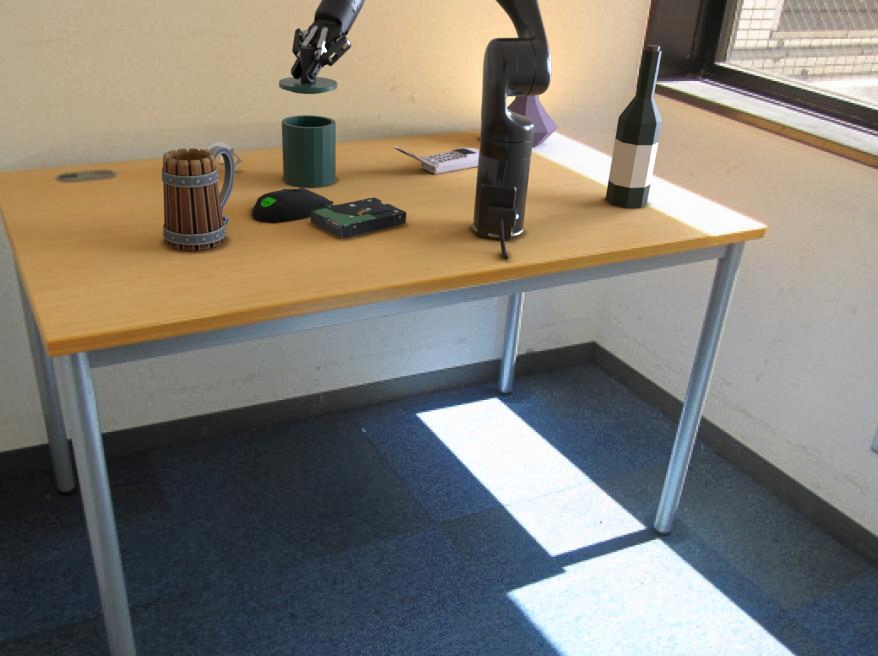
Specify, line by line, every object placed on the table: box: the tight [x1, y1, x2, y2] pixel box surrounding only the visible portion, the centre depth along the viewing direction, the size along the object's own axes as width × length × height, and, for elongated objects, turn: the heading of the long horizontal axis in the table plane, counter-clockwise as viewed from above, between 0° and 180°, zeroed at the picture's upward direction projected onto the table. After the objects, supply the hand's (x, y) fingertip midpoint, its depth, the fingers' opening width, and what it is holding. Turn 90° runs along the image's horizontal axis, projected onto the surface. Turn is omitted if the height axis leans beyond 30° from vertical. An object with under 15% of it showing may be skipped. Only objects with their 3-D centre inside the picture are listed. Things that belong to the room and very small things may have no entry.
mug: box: [161, 146, 236, 252], centre depth 151 cm, size 16×11×15 cm
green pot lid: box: [278, 45, 338, 95], centre depth 175 cm, size 12×12×8 cm
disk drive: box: [309, 197, 407, 239], centre depth 163 cm, size 10×3×15 cm
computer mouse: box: [251, 187, 334, 224], centre depth 168 cm, size 11×16×4 cm
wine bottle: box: [604, 44, 663, 209], centre depth 173 cm, size 8×8×30 cm
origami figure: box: [205, 141, 244, 173], centre depth 189 cm, size 12×8×5 cm
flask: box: [507, 95, 559, 148], centre depth 214 cm, size 16×16×20 cm
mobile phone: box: [393, 145, 479, 175], centre depth 195 cm, size 6×6×25 cm
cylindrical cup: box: [281, 114, 337, 188], centre depth 183 cm, size 11×11×12 cm
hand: (301, 77), depth 174 cm, fingers closed on green pot lid, 3 cm apart
